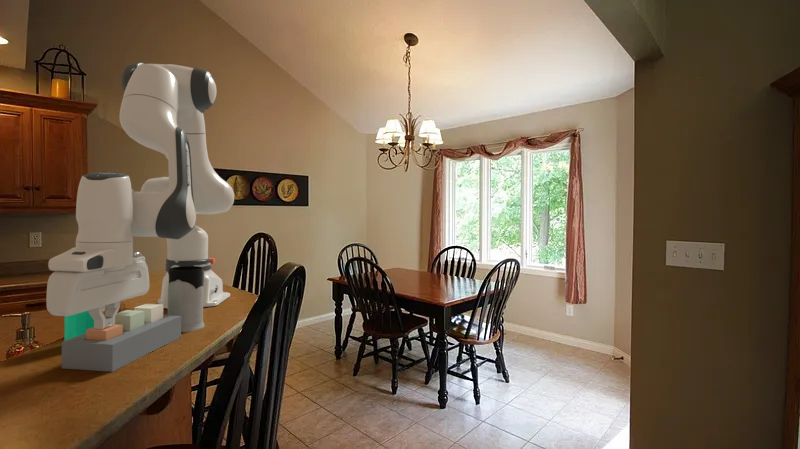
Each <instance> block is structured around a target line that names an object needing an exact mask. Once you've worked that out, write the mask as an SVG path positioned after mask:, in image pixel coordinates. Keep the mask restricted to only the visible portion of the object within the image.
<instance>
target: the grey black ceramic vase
mask: <svg viewBox="0 0 800 449" xmlns="http://www.w3.org/2000/svg"><path fill="white" fill-rule="evenodd" d="M203 287H204V270H203V267H198V266H181V267H173V268H170V269H169V285H168V309H167V315H172V316H181V332H183V333H190V332H195V331H198V330H201V329H203V328H205V322H204V307H203Z"/></svg>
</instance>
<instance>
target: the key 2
mask: <svg viewBox="0 0 800 449" xmlns="http://www.w3.org/2000/svg"><path fill="white" fill-rule="evenodd" d="M133 310H137V311H145V312H144V323H152V322H155V321H157V320H160V319H162V318H163V315H164V308H163V304H159V303H144V304H141V305H138V306H134V307H133Z"/></svg>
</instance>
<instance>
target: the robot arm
mask: <svg viewBox="0 0 800 449" xmlns="http://www.w3.org/2000/svg"><path fill="white" fill-rule="evenodd" d="M120 84H121V88H122V92H123V96H122V100H121V103H120V109H119V124H120V125H121V128H122V130H123V131H124V132H125V134H126V135H127V136H128V137H129V138H131V139H132V140H133V141H135V142H136V143H138V144H139V145H141V146H143V147H145V148H148V149H150V150H153V151H156V152H158V153H161V154H163V155H165V156H164V157H165V158H166V159H167V164H168V165H167V166H168V176H162V177H153V178H148V179H147V180H146V181H145V182H144V183H143V184H142V186H141V187H140V188H141V189H140V191H137V190H136V191H135V189H132V182H131V178H130V176H129V174H127V173H122V172H115V171H101V172H100V171H97V172H96V171H95V172H89V173H86V174H84V175H82V176H81V178H80V180H79V184H78V189H77V194H76V203H75V205H76V208H75V219H76V223H77V224H78V225H77V226H78V232H77V235H76V238H75V247H72V248H70V249H68V250H67V251H64V252H62V253H60V254H58V255H56V256H53V257H52V258H50V259H49V260H48V264H47V265H48V266H47V267H48V270H50V271H53V272H52V273H51V274H50V275H49V277H48V280H47V285H46V301H45V302H46V309H47V311H48V313H49V314H50V315H51V316H56V317H65V316H71V315H74V314H78V313H81V312H85V311H88V310H89V314H90V315H91V317H92V318H93V320H94V328H95V329H104V328H107V327H110V326H113V325H114V324H115V316H116V314H117V313H119V310H120V308H121V302H122V301H126V300H129V299H133V298H137V297H140V296H144V295H146V294H148V292H149V290H150V273H149V267H148V264H147V263H146V257H145V256H144V255H143V254H142V253H141V252H140V251H134V238H133V237H139V238H140V237H141V238H142V237H143V238H144V237H145V238H149V237H150V238H161V239H162V238H163V239H166V246H167V247H166V248H167V250H166V251H167V258H166V259H165V263H164V265H165V272H166V273H165V274H164V276H163V278H162V283H161V285H162V286H161V292H160V298H159V299H157V304H163V309H167V310H168V285H169V269H170V268H173V267H181V266H198V267H203V270H204V287H203V308H206V307H207V308H208V307H216V306H218V305H220V304H221V303H222V302H224V301H225V300H227V299H228V298H230V297H231V293H230V292H227V291H224V290H223V289H224V287H223V286H224V284H223V279H222V278H221V277H219V275H217V274H216V273H215V272H214V271H213V270H212V265H215V263H216V259H215V258H214V257H209V235H208V233H207V232H206V230H204V229H203V228H201V227H200V226H198V225H196V221H197V215H217V214H222V213H227V212H228V211H230V209H231V208H232V207H233V205H234V202H235V192H234V189H233V187H232V186H231V185H230V184H229V183H228V182H227V181H226V180H225V179H223V178H222V177H221V176H219V174H218V173H217V172H216V171H215V169H214V168H213V166H212V164H211V162H210V159H209V154H208V153H209V152H208V148H207V136H206V134H207V132H206V121H205V116H204V114H205V111H206V110H209V109H210V108H212V106H214V104H215V103H216V97H217V91H218V90H217V84H216V82H215V78H214V77H213V75H212V74H211V73H210V72H209V71H208V70H205V69H202V68H200V67H194V68H193V67H190V66H185V65H184V66H183V65H178V64H173V63H172V64H171V63H168V64H163V63H162V64H161V63H144V62H134V63H128V65H126V66H125V67H124V68H123V69H122V71H121V75H120ZM104 312H105V313H104Z"/></svg>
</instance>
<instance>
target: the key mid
mask: <svg viewBox="0 0 800 449" xmlns="http://www.w3.org/2000/svg"><path fill="white" fill-rule="evenodd" d="M144 312H145V311H137V310H134V309H126V310H121V311H120V312H119V311H118V312H117V314H116V316H115V324H117V325H123V331H132V330H135V329H137V328H140V327H142V326H144Z"/></svg>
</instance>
